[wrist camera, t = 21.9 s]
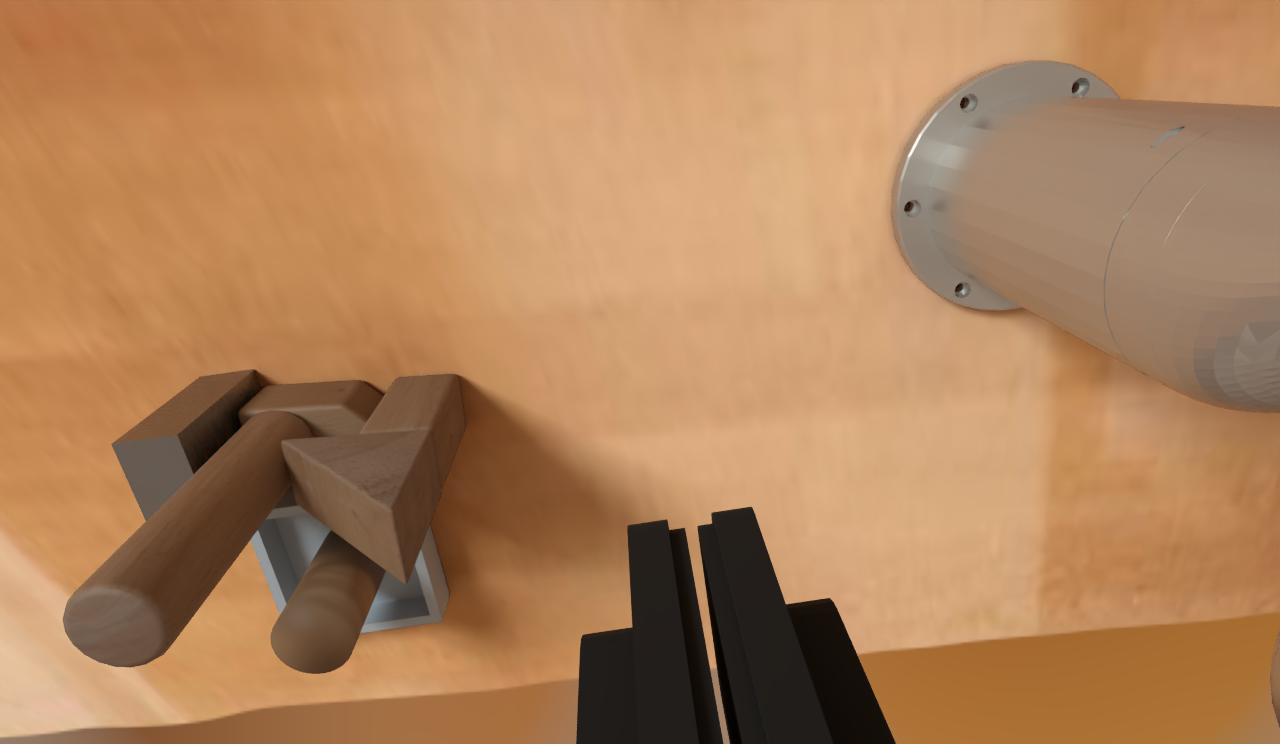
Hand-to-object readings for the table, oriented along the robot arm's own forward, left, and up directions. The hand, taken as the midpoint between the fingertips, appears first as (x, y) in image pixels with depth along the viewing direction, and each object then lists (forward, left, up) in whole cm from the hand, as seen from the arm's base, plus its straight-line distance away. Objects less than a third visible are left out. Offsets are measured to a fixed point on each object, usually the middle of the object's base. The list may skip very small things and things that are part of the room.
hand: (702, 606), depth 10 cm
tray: (+19, +18, -31) cm, 40 cm away
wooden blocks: (+16, +9, -31) cm, 36 cm away
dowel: (+19, +18, -30) cm, 40 cm away
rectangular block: (+23, +9, -31) cm, 40 cm away
